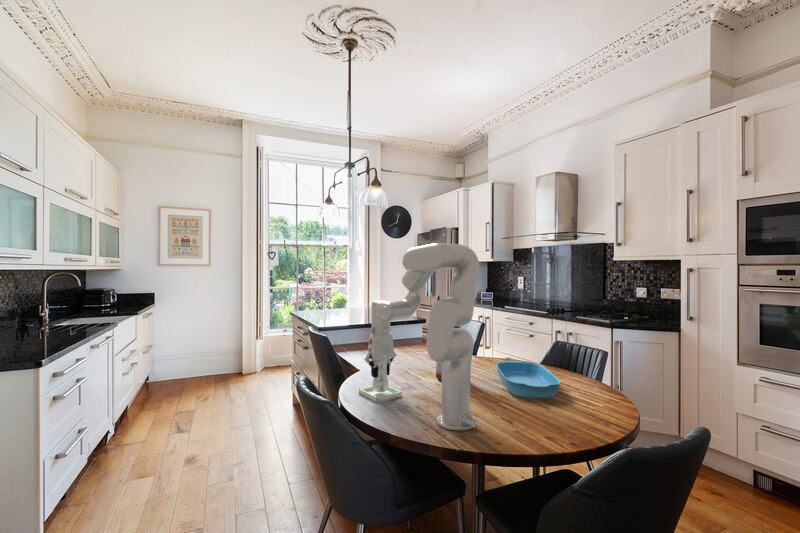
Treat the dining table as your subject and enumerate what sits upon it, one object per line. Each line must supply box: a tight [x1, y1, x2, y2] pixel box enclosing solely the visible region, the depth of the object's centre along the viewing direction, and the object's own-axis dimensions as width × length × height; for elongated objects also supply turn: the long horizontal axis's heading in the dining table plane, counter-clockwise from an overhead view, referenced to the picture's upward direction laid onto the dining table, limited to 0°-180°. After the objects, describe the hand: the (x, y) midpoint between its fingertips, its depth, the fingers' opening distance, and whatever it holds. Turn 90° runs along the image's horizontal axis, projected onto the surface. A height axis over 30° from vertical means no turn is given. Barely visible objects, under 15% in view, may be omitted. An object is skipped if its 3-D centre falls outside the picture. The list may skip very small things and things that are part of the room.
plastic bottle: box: [371, 354, 389, 392], centre depth 153 cm, size 6×7×20 cm
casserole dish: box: [496, 360, 561, 399], centre depth 165 cm, size 37×22×7 cm, turn 177°
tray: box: [358, 385, 403, 404], centre depth 153 cm, size 13×12×2 cm
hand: (380, 375), depth 153 cm, fingers closed on plastic bottle, 5 cm apart
